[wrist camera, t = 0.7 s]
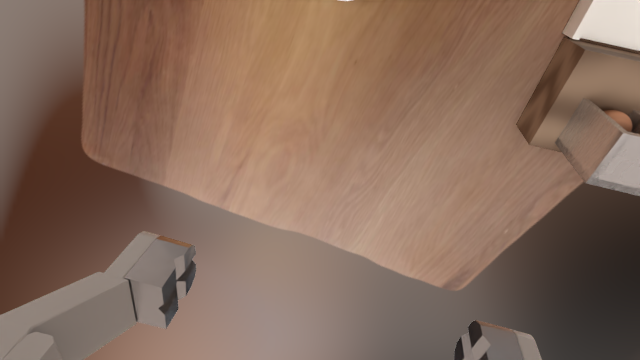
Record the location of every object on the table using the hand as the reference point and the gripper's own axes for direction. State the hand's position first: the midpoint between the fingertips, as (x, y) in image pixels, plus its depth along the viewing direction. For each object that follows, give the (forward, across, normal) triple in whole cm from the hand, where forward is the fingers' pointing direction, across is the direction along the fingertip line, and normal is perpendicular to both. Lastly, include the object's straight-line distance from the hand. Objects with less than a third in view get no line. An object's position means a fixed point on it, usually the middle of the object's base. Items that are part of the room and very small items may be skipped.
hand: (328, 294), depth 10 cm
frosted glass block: (+38, -28, +5) cm, 47 cm away
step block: (+44, -28, +3) cm, 52 cm away
